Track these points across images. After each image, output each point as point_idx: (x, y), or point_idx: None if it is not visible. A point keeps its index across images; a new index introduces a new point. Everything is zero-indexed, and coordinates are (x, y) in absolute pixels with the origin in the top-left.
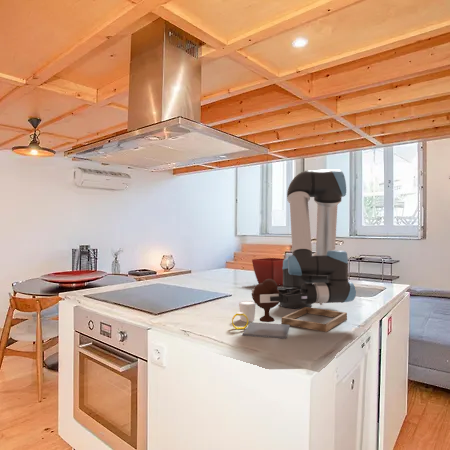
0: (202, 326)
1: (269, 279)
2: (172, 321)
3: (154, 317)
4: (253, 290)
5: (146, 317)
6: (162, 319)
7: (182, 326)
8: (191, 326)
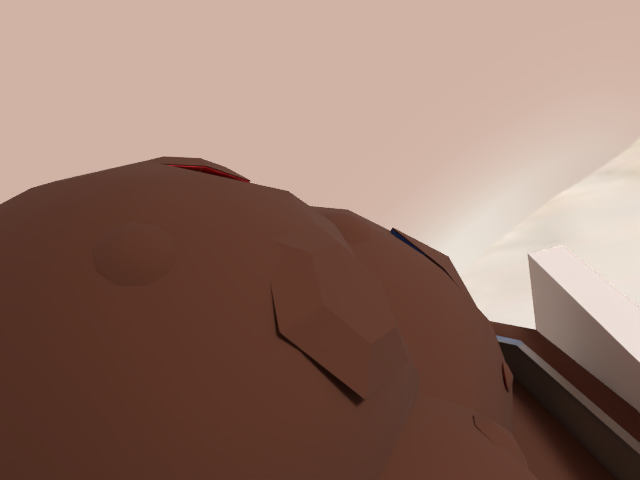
0: (513, 322)
1: (5, 204)
2: (578, 220)
3: (625, 171)
4: (540, 279)
5: (613, 160)
6: (601, 193)
7: (495, 265)
8: (502, 288)
